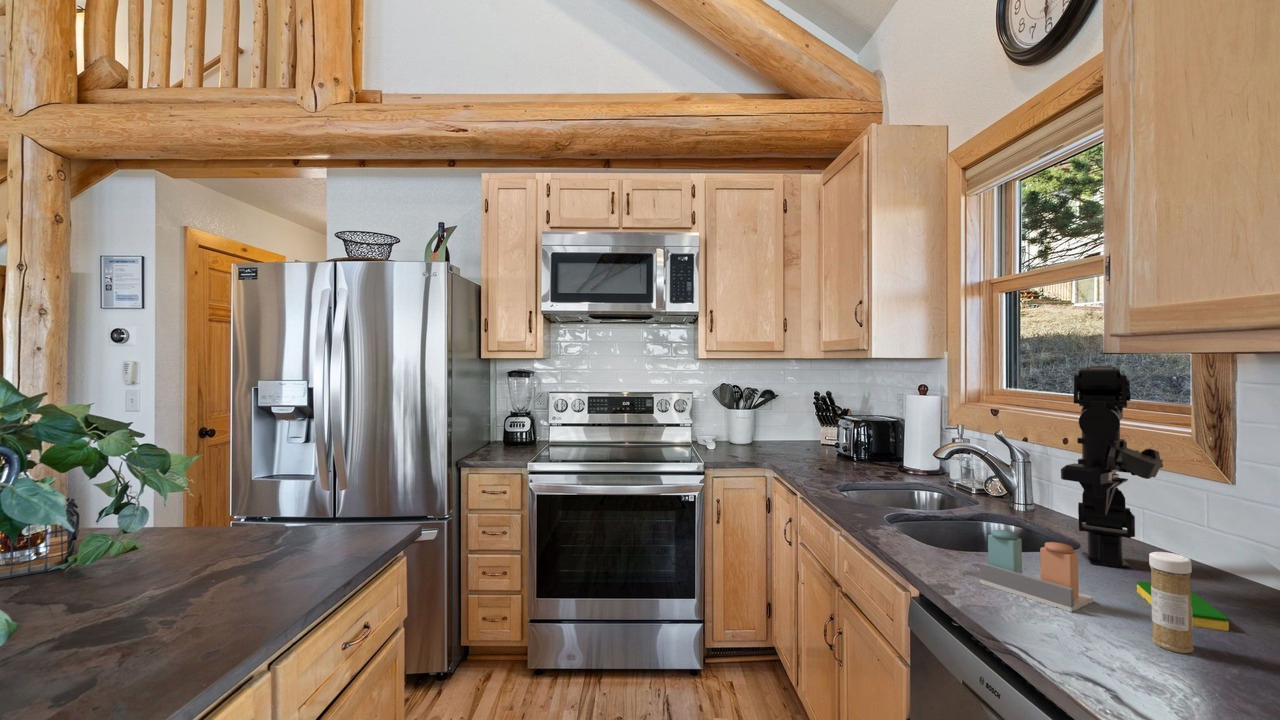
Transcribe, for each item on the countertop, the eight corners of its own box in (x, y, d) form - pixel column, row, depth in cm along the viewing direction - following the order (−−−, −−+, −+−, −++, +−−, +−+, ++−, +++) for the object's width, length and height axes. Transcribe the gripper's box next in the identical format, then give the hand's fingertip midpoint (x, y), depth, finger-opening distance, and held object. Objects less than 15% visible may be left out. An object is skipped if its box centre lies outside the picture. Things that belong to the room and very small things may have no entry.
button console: (1002, 574, 111) (1002, 555, 111) (1093, 601, 98) (1092, 580, 98) (979, 583, 107) (979, 563, 107) (1071, 612, 94) (1070, 589, 94)
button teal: (998, 573, 109) (997, 528, 109) (1023, 580, 105) (1022, 534, 105) (987, 577, 107) (986, 531, 107) (1012, 585, 103) (1011, 537, 103)
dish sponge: (1170, 625, 90) (1170, 610, 90) (1136, 593, 102) (1136, 580, 102) (1230, 634, 87) (1229, 618, 87) (1187, 599, 99) (1186, 586, 99)
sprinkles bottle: (1197, 648, 82) (1195, 556, 82) (1188, 657, 79) (1186, 563, 79) (1156, 636, 85) (1154, 548, 86) (1146, 644, 83) (1144, 554, 83)
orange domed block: (1050, 588, 101) (1049, 540, 101) (1080, 597, 97) (1078, 547, 97) (1039, 593, 99) (1038, 544, 99) (1069, 602, 95) (1068, 551, 95)
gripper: (1133, 441, 95) (1135, 533, 95) (1174, 434, 104) (1177, 517, 104) (1058, 435, 105) (1060, 518, 104) (1102, 428, 114) (1104, 504, 114)
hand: (1102, 514), depth 106 cm, fingers closed
